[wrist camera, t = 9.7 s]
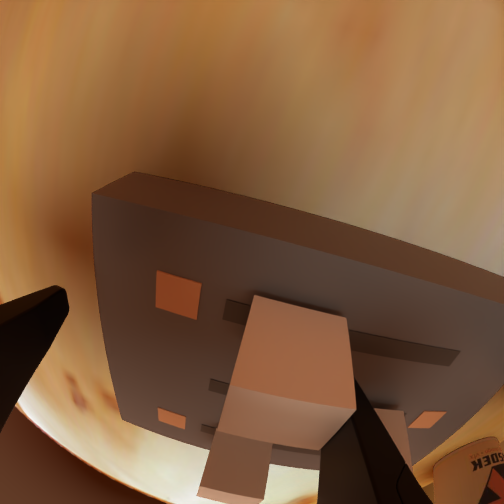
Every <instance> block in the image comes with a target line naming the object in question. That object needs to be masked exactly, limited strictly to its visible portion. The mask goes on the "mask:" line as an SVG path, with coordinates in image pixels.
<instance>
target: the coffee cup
mask: <svg viewBox="0 0 504 504" xmlns="http://www.w3.org/2000/svg"><path fill="white" fill-rule="evenodd" d="M433 479H434V504H504V455H503V452H502V449H501V447H500V445H499V442H498V440H497V438H495V437H488V438H483V439H480V440H477V441H474V442H472V443H469V444H467V445H465V446H463V447H461V448H459V449H457V450H455V451H453V452H451V453H450V454H448V455H446V456H445V457H443V458H442V459H441V460H439V461H438V462H437V463H436V464H435V466H434V468H433Z"/></svg>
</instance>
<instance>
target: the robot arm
mask: <svg viewBox="0 0 504 504" xmlns="http://www.w3.org/2000/svg"><path fill="white" fill-rule="evenodd" d="M68 312H69V304H68V298H67V293H66V290H65V289H64V288H62V287H60V286H57V285H54V286H51V287H48V288H45V289H42V290H39V291H37V292H34V293H31V294H28V295H26V296H23V297H20V298H17V299H15V300H12V301H9V302H7V303H4V304H1V305H0V433H1V431H2V429H3V427H4V425H5V423H6V421H7V419H8V417H9V415H10V413H11V412H12V410H13V408H14V406H15V404H16V403H17V401H18V399H19V397H20V396H21V394H22V392H23V390H24V389H25V387H26V385H27V384H28V382H29V380H30V379H31V377H32V375H33V374H34V372H35V370H36V369H37V367H38V366H39V364H40V362H41V361H42V359H43V358H44V356H45V355H46V353H47V351H48V350H49V348H50V346H51V345H52V343H53V341H54V339H55V337H56V335H57V333H58V331H59V329H60V328H61V326H62V324H63V322H64V320H65V318H66V317H67V315H68ZM354 387H355V398H356V411H355V412H354V413H353V414H352V415H351V416H350V418H349V419H348V420H347V421H346V422H345V423H344V424H343V425H342V427H341V428H340V429H339V430H338V431H337V432H336V433H335V434H334V435H333V436H332V437H331V438H330V440H329V441H328V442H327V443H326V444H325V445H324V446H323V447H322V448H321V454H320V472H319V487H318V499H317V504H433V503H432V501H431V500H430V499H429V498H428V496H427V495H426V493H425V492H424V490H423V489H422V487H421V486H420V485H419V483H418V481H417V480H416V478H415V477H414V475H413V473H412V472H411V470H410V468H409V467H408V465H407V464H405V460H404V458H403V456H402V455H401V453H400V451H399V450H398V448H397V446H396V445H395V443H394V441H393V440H392V438H391V436H390V435H389V433H388V431H387V429H386V428H385V426H384V424H383V423H382V421H381V419H380V418H379V416H378V415H377V413H376V411H375V410H374V408H373V406H372V405H371V403H370V401H369V400H368V398H367V396H366V395H365V393H364V391H363V390H362V388H361V387H360V385H359V383H358V382H357V380H356V378H355V377H354Z"/></svg>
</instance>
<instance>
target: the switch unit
mask: <svg viewBox="0 0 504 504" xmlns="http://www.w3.org/2000/svg"><path fill="white" fill-rule="evenodd" d="M92 233H93V252H94V266H95V277H96V287H97V296H98V304H99V312H100V319H101V325H102V331H103V337H104V343H105V349H106V354H107V359H108V364H109V369H110V374H111V378H112V382H113V387H114V391H115V395H116V399H117V403H118V407H119V410H120V414H121V418H122V420H124V421H127V422H129V423H132V424H134V425H137V426H139V427H142V428H144V429H147V430H149V431H152V432H155V433H157V434H160V435H163V436H166V437H169V438H172V439H175V440H178V441H181V442H184V443H187V444H190V445H194V446H197V447H200V448H204V449H208V450H210V449H211V445H212V442H213V438H214V435H215V431H216V428H218V425H219V421H220V417H221V414H222V410H223V407H224V403H225V400H226V396H227V392H228V389H229V385H230V382H231V378H232V374H233V371H234V367H235V363H236V360H237V356H238V353H239V349H240V345H241V342H242V338H243V334H244V331H245V327H246V323H247V320H248V316H249V313H250V309H251V305H252V302H253V298H254V295H257V296H260V297H264V298H268V299H272V300H276V301H280V302H284V303H287V304H291V305H295V306H299V307H303V308H307V309H311V310H316V311H320V312H324V313H328V314H332V315H336V316H341V317H345V318H346V319H347V326H348V333H349V341H350V349H351V358H352V367H353V376H354V377H355V378H356V380H357V382H358V383H359V385H360V387H361V388H362V390H363V391H364V393H365V395H366V396H367V398H368V400H369V401H370V403H371V405H372V406H373V408H377V409H388V410H399V411H404V417H405V422H406V428H407V434H408V440H409V447H410V454H411V462H412V466H413V465H414V464H416V463H417V462H418V461H420V460H421V459H422V458H424V457H425V456H426V455H428V454H429V453H430V452H432V451H433V450H434V449H436V448H437V447H438V446H439V445H441V444H442V443H443V442H444V441H445V440H447V439H448V438H449V437H450V436H451V435H453V434H454V433H455V432H456V431H457V430H458V429H460V428H461V427H462V426H463V425H464V424H465V423H466V422H467V421H468V420H469V419H470V418H472V417H473V416H474V415H475V414H476V413H477V412H478V411H479V410H480V409H481V408H482V407H483V406H484V405H485V404H486V403H487V402H488V401H489V400H490V399H491V398H492V397H493V396H494V395H495V393H496V392H497V391H498V390H499V389H500V388H501V387H502V386H503V385H504V277H502V276H499V275H497V274H494V273H491V272H489V271H486V270H483V269H481V268H478V267H475V266H473V265H470V264H467V263H464V262H462V261H459V260H456V259H453V258H450V257H448V256H445V255H442V254H439V253H436V252H433V251H430V250H427V249H424V248H421V247H418V246H415V245H412V244H409V243H406V242H403V241H400V240H397V239H394V238H391V237H388V236H384V235H381V234H378V233H375V232H372V231H368V230H365V229H362V228H358V227H355V226H352V225H348V224H345V223H342V222H338V221H335V220H331V219H328V218H324V217H321V216H317V215H314V214H310V213H306V212H303V211H299V210H296V209H292V208H288V207H284V206H281V205H277V204H273V203H269V202H265V201H261V200H257V199H253V198H249V197H245V196H241V195H237V194H233V193H229V192H225V191H221V190H217V189H212V188H208V187H204V186H199V185H195V184H190V183H186V182H181V181H177V180H172V179H167V178H163V177H158V176H153V175H148V174H143V173H138V172H133V173H131V174H128V175H126V176H124V177H122V178H120V179H118V180H116V181H114V182H112V183H110V184H108V185H106V186H104V187H102V188H100V189H99V190H97V191H95V192H93V193H92ZM320 454H321V449H320V450H312V449H305V448H298V447H291V446H285V445H279V444H274V443H273V445H272V451H271V458H270V464H275V465H281V466H288V467H295V468H303V469H312V470H320Z"/></svg>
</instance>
